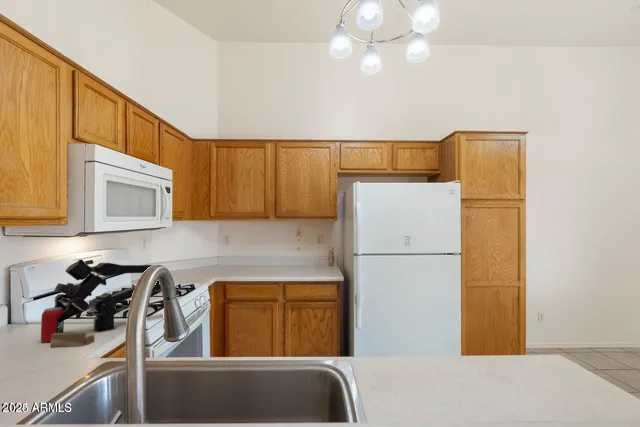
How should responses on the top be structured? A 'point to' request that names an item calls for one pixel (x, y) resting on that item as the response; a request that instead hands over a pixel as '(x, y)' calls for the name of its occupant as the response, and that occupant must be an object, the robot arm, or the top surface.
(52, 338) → the can cradle
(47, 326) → the beverage can
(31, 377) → the top surface
